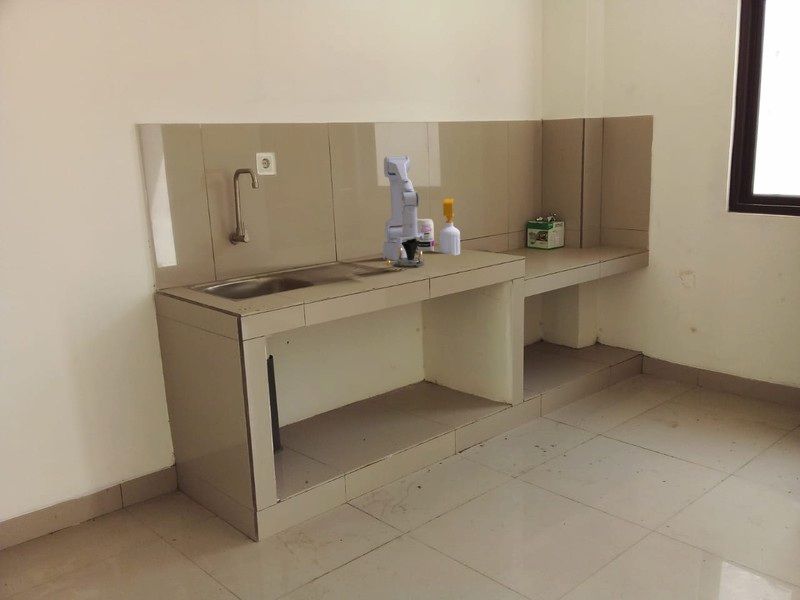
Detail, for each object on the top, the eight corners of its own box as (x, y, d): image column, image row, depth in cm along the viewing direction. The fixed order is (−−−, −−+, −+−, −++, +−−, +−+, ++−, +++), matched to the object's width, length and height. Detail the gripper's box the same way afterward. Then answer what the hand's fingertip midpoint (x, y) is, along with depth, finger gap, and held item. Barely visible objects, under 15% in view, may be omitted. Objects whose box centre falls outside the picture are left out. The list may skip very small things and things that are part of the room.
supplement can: (425, 250, 314) (424, 218, 311) (437, 252, 308) (437, 219, 304) (412, 252, 309) (411, 219, 306) (424, 254, 303) (423, 221, 299)
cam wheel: (375, 265, 271) (374, 250, 270) (410, 260, 280) (410, 246, 279) (397, 271, 259) (396, 255, 257) (433, 265, 268) (432, 250, 266)
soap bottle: (461, 253, 303) (461, 197, 298) (457, 256, 295) (457, 199, 289) (442, 253, 306) (441, 198, 300) (437, 256, 297) (436, 199, 291)
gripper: (406, 226, 249) (407, 263, 252) (429, 222, 260) (430, 257, 263) (391, 225, 253) (392, 261, 256) (415, 221, 264) (416, 256, 267)
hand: (410, 259), depth 260 cm, fingers closed
